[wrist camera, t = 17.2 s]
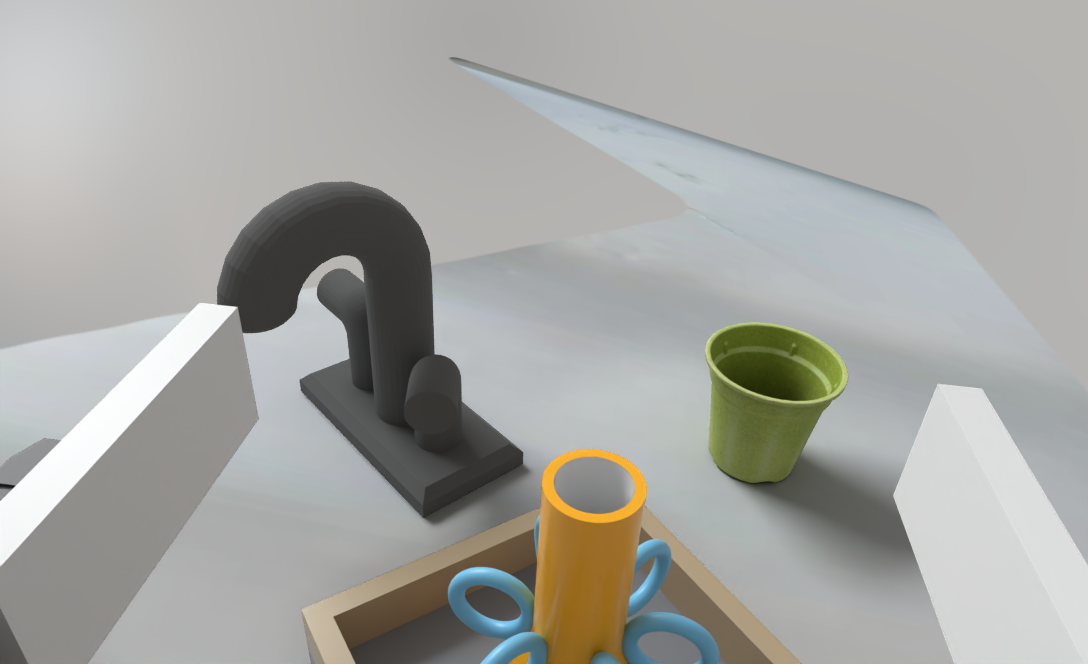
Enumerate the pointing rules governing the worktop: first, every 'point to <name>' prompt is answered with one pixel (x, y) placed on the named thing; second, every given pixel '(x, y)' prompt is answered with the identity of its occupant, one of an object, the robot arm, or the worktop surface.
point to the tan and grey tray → (457, 651)
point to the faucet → (369, 337)
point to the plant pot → (767, 396)
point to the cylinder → (583, 574)
